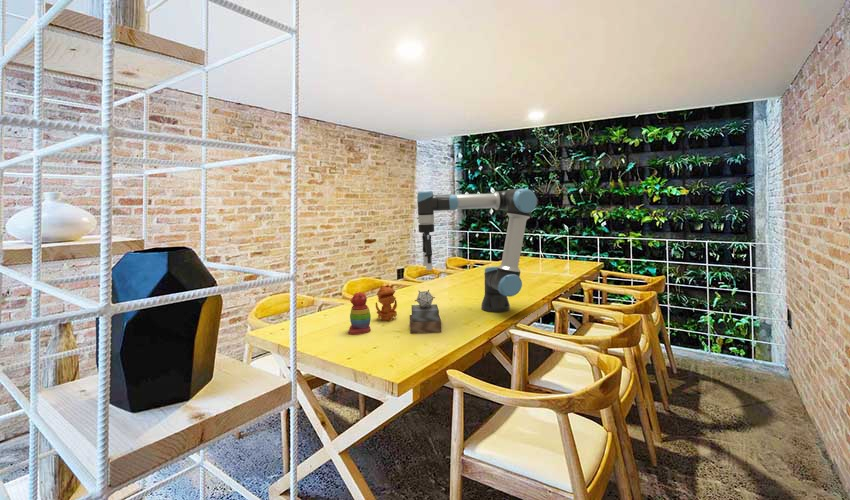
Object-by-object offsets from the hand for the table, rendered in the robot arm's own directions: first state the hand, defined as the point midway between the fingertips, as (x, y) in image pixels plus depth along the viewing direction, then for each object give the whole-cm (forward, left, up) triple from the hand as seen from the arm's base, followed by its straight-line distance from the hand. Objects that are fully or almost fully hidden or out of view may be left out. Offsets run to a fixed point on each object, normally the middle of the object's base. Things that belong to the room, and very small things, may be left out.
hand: (427, 267), depth 210 cm
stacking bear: (+32, +11, -27) cm, 44 cm away
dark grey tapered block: (+2, +11, -27) cm, 29 cm away
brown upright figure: (+20, -7, -27) cm, 34 cm away
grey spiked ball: (+2, +11, -17) cm, 20 cm away
